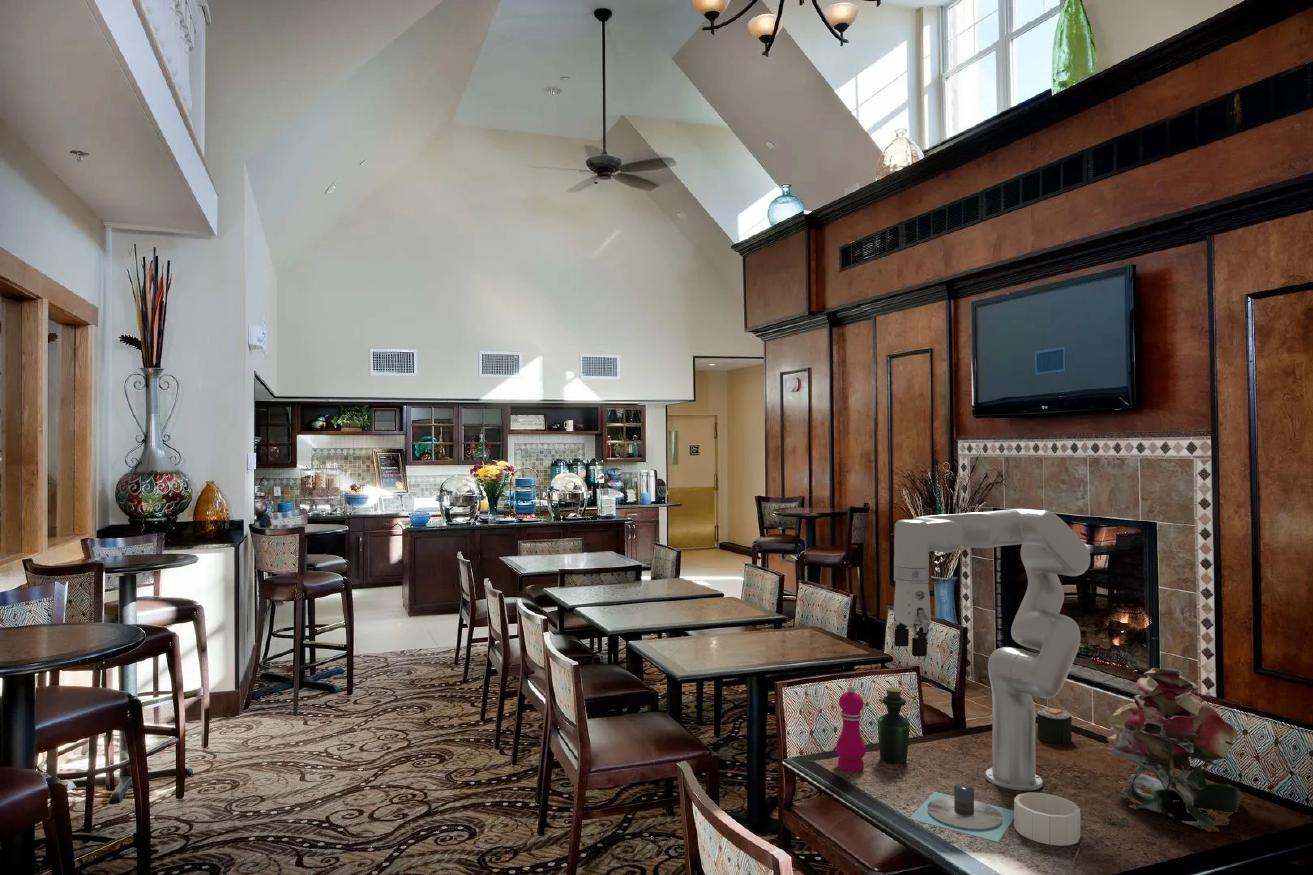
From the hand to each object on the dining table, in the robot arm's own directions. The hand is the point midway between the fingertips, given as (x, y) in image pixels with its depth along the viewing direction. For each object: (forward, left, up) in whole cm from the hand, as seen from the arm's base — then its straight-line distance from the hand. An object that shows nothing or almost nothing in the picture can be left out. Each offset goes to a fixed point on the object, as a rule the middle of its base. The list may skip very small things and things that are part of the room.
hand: (910, 650), depth 187 cm
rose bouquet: (-38, +47, -34) cm, 69 cm away
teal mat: (0, +12, -34) cm, 36 cm away
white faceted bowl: (-2, +28, -34) cm, 44 cm away
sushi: (-68, +18, -34) cm, 78 cm away
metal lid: (0, +12, -33) cm, 35 cm away
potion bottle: (-24, -12, -34) cm, 43 cm away
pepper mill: (-13, -19, -34) cm, 41 cm away
